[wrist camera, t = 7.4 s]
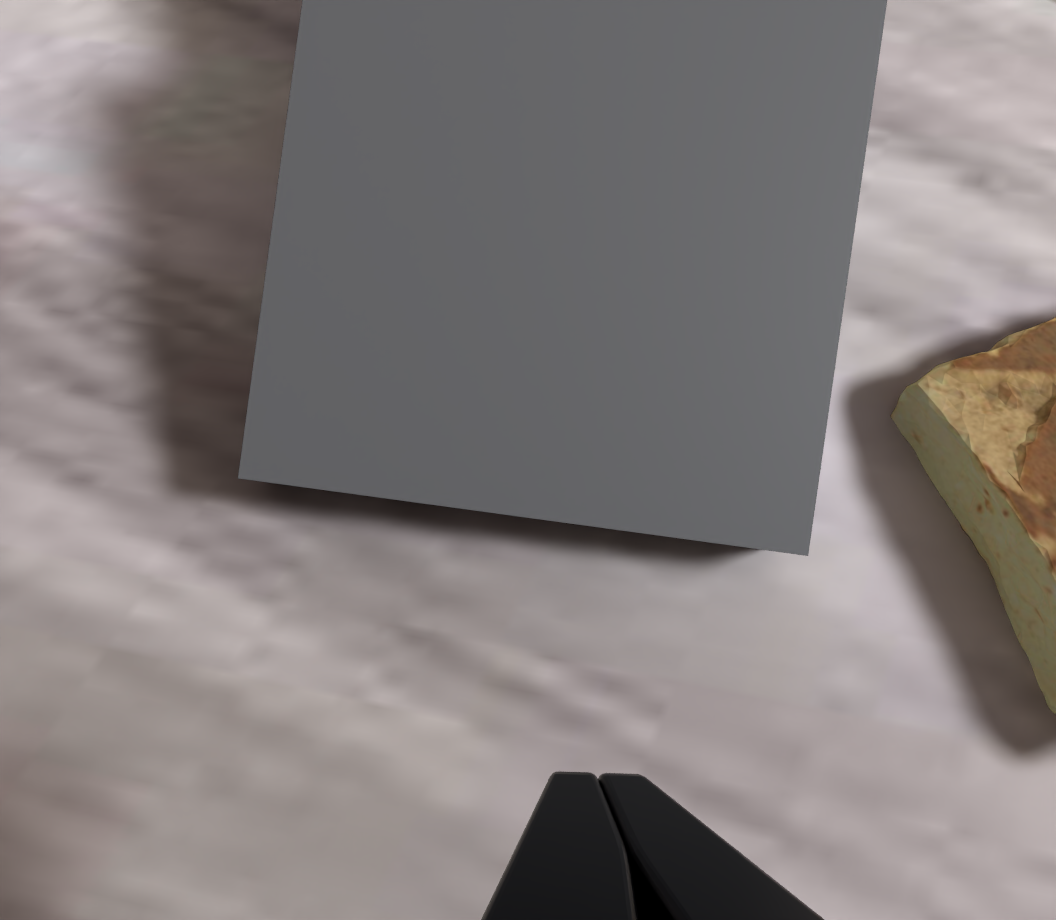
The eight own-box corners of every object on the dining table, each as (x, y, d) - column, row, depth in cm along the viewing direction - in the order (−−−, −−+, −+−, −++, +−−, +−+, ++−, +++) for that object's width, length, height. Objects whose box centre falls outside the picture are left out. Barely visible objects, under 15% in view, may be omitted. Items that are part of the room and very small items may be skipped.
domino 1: (807, 556, 15) (888, -12, 15) (237, 478, 14) (316, -103, 14) (777, 545, 16) (850, 33, 16) (264, 474, 16) (335, -47, 16)
